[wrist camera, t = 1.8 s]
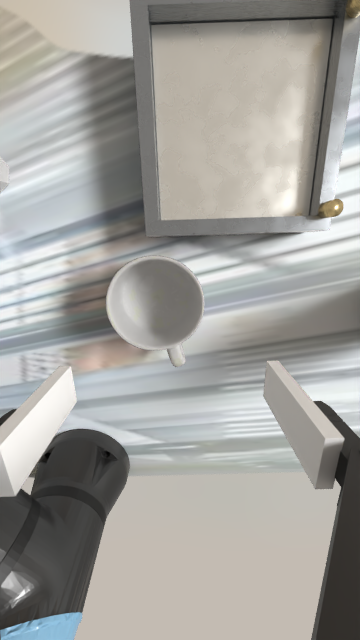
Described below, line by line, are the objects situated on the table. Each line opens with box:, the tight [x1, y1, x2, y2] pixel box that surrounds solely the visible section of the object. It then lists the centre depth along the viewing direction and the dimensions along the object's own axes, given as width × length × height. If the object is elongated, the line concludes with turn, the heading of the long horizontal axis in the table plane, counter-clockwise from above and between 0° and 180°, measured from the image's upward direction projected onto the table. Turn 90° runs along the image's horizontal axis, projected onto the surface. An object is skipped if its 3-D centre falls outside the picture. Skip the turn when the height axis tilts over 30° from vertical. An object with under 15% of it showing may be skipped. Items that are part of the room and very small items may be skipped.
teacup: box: [106, 256, 204, 367], centre depth 30 cm, size 14×11×8 cm
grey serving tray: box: [130, 0, 360, 237], centre depth 25 cm, size 20×20×7 cm
